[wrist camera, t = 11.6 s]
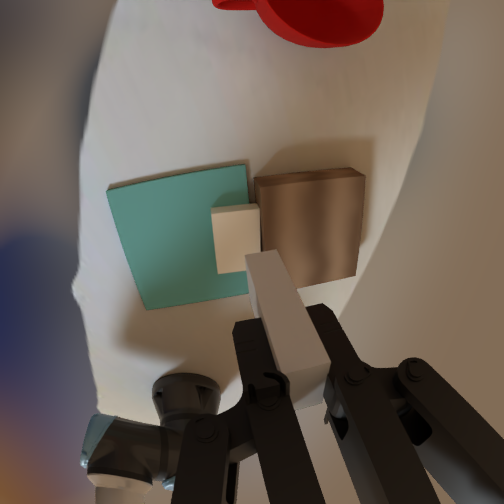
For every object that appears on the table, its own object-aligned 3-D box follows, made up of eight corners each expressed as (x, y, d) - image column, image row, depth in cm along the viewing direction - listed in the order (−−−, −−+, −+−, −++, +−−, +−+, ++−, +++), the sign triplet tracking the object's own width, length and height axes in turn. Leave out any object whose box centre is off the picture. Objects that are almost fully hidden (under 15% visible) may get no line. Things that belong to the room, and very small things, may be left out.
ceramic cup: (200, -24, 21) (204, -60, 13) (332, -26, 22) (370, -50, 14) (217, 64, 28) (225, 53, 20) (347, 55, 29) (393, 50, 21)
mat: (146, 307, 44) (146, 310, 43) (106, 190, 33) (105, 191, 33) (257, 289, 46) (257, 291, 45) (244, 163, 35) (245, 165, 35)
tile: (216, 266, 42) (217, 274, 40) (210, 207, 37) (211, 214, 35) (258, 260, 42) (260, 268, 41) (256, 203, 38) (259, 208, 36)
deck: (262, 278, 45) (268, 294, 42) (253, 177, 36) (260, 187, 33) (344, 261, 46) (355, 275, 43) (351, 167, 38) (365, 175, 35)
